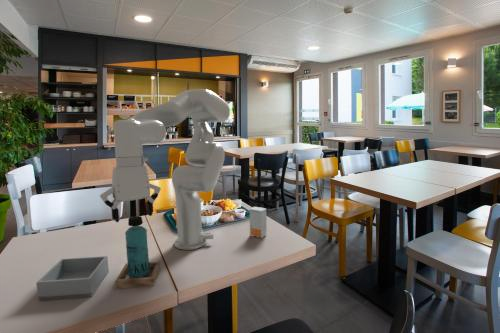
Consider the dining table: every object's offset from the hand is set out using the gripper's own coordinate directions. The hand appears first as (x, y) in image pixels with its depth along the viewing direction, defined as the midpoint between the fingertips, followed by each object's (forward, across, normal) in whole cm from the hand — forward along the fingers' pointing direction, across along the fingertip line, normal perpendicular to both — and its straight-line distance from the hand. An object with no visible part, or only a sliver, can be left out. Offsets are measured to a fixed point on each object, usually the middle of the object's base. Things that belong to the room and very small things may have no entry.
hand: (133, 217), depth 91 cm
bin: (+20, +16, -8) cm, 27 cm away
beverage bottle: (+20, -1, 0) cm, 20 cm away
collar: (+20, -1, 0) cm, 20 cm away
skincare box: (+19, -51, -4) cm, 55 cm away
